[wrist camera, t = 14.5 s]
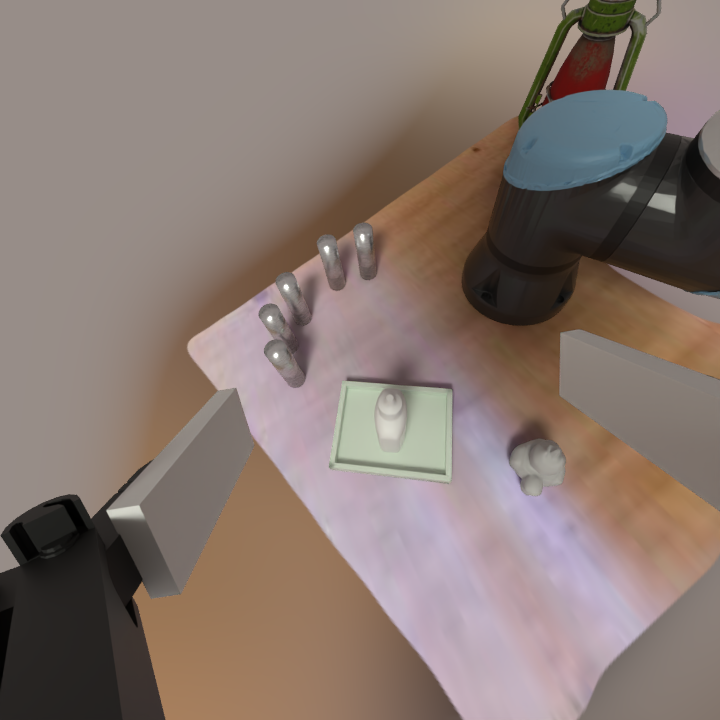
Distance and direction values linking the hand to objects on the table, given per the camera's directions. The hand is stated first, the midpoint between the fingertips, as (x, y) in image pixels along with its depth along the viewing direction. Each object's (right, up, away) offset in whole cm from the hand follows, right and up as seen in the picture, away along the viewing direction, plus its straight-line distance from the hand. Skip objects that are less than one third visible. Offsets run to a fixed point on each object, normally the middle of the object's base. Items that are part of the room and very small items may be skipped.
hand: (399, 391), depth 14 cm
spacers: (-6, +7, +37) cm, 39 cm away
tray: (+2, -8, +29) cm, 30 cm away
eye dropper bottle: (+2, -8, +29) cm, 30 cm away
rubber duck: (+18, -12, +26) cm, 33 cm away
